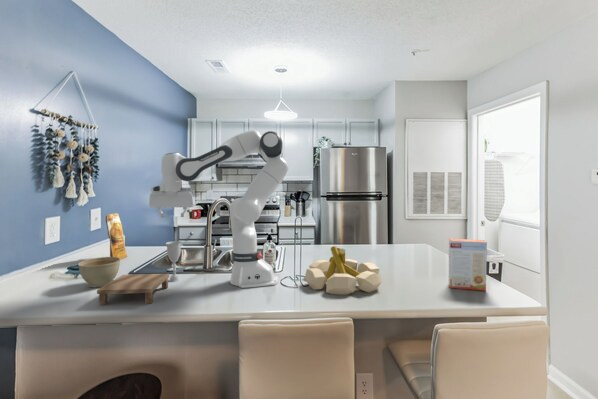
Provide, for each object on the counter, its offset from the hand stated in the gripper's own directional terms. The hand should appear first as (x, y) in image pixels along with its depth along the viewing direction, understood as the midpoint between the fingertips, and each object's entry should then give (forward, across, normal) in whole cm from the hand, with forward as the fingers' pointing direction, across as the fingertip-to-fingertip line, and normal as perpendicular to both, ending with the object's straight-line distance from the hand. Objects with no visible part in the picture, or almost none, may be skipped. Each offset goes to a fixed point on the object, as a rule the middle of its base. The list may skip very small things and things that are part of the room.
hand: (172, 217), depth 150 cm
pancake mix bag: (+30, +49, -45) cm, 73 cm away
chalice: (+30, 0, 0) cm, 30 cm away
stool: (+30, +9, +20) cm, 37 cm away
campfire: (+30, -79, +10) cm, 85 cm away
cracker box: (+30, -131, +21) cm, 136 cm away
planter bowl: (+31, +32, +4) cm, 44 cm away
